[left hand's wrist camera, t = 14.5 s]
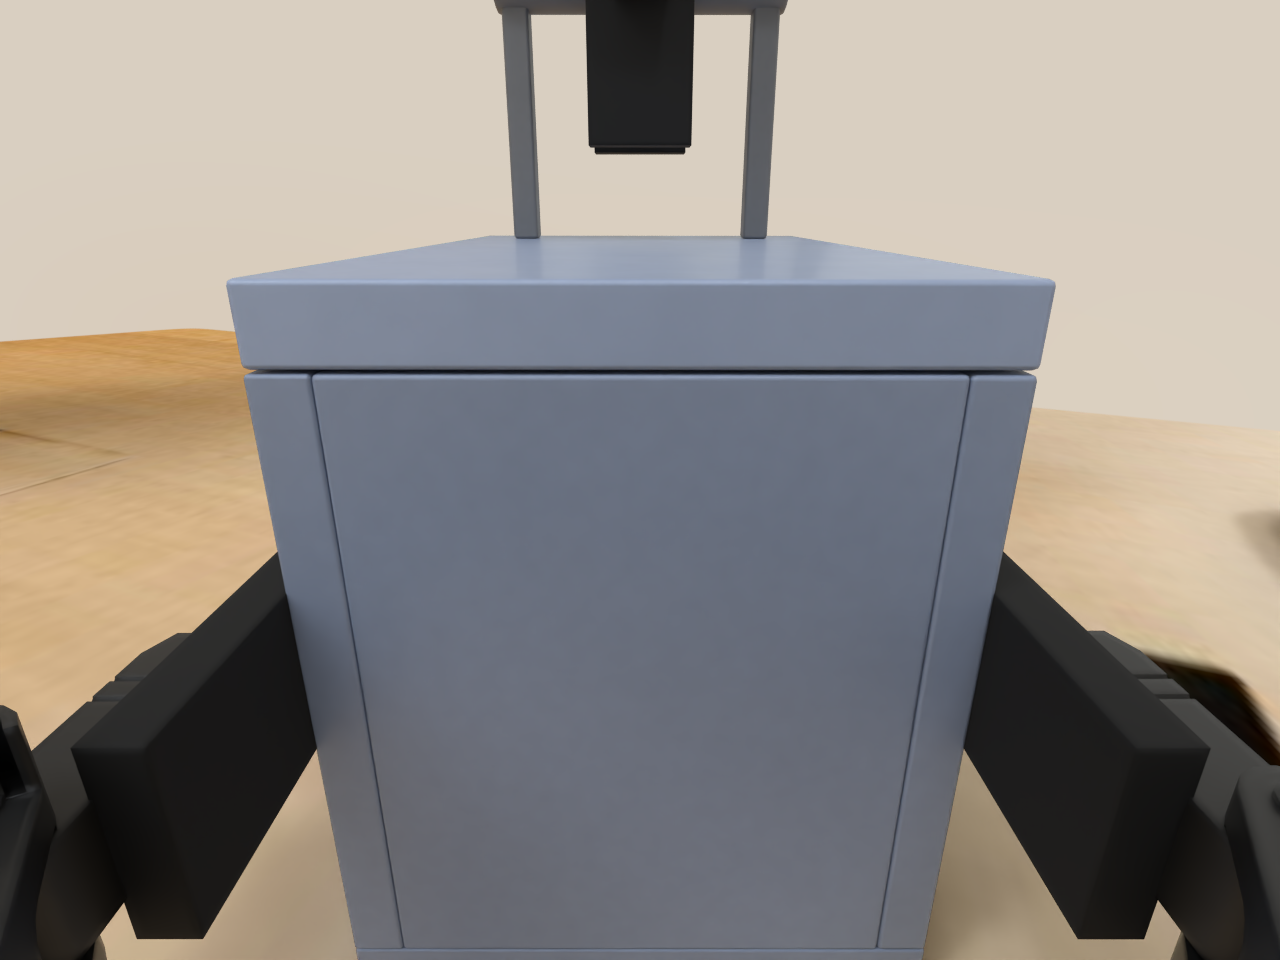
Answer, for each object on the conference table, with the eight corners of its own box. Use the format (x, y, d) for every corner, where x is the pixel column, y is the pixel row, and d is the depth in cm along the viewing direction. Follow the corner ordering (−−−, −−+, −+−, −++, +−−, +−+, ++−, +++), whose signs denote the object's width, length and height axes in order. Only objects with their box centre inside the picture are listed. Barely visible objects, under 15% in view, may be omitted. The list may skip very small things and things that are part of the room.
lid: (490, 270, 24) (469, -46, 21) (790, 271, 24) (812, -46, 21) (240, 371, 9) (28, -706, 6) (1041, 371, 9) (1256, -704, 6)
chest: (508, 574, 27) (487, 273, 23) (771, 574, 27) (793, 273, 23) (361, 983, 13) (240, 375, 9) (919, 983, 13) (1040, 375, 9)
